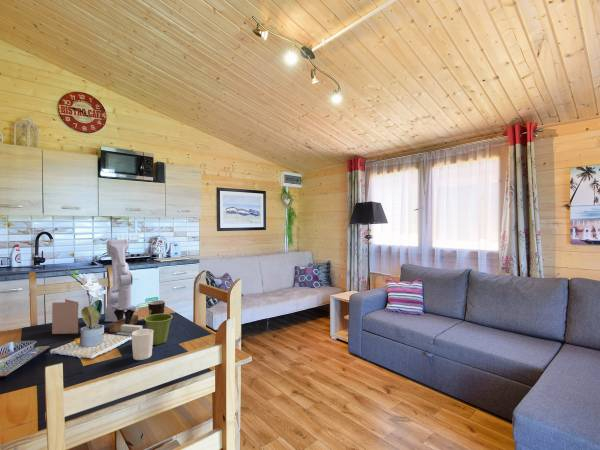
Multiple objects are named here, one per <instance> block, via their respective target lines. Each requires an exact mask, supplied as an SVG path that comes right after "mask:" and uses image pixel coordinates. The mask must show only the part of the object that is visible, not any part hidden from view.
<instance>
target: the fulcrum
mask: <svg viewBox="0 0 600 450" xmlns="http://www.w3.org/2000/svg"><path fill="white" fill-rule="evenodd" d="M141 329H144V328H143V325H137V324H133V325H128V324H124V325H122V326H121V330H120V331H118V332H116V333H115V335H116V334H118V335H117V336H125V335H131V336H130V337H132V333H133V332H134V331H137V330H141Z"/></svg>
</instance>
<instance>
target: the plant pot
mask: <svg viewBox="0 0 600 450" xmlns="http://www.w3.org/2000/svg"><path fill="white" fill-rule="evenodd" d="M172 319H173V315H172V314H169V313H164V314H154V315H150V316H149V315H148V316H147V315H146V317H144V319H143V320H144V321H145V326H146V329H152V330H153V345H161V344H164V343H166V342H167V341H168V340H167V339H168V335H169V329H170V325H171V322H172ZM153 345H152V346H153Z"/></svg>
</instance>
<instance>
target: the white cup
mask: <svg viewBox="0 0 600 450" xmlns="http://www.w3.org/2000/svg"><path fill="white" fill-rule="evenodd" d="M131 345H132V346H131V347H132V358H133V360H136V361H143V360H147V359H150V358H151V357H152V355H153V330H152V329H147V328H143V329H141V330H137V331H134V332H133V333H132V336H131Z"/></svg>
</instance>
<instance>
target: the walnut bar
mask: <svg viewBox="0 0 600 450" xmlns="http://www.w3.org/2000/svg"><path fill="white" fill-rule="evenodd" d="M137 323H139V315H137V314H133V316H132V318H131V321H130V324H128V325H137ZM124 324H126V319H125V318H123V319H121V320H118V321H116V322H112V323H111V322H110V323H109V326H108V327H109V328H108V329H109V330H108V331H109V333H114V334H116V333H118V332H120V331H121V326H122V325H124Z"/></svg>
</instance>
